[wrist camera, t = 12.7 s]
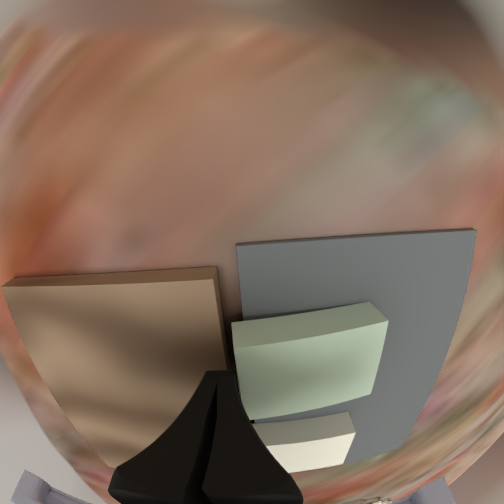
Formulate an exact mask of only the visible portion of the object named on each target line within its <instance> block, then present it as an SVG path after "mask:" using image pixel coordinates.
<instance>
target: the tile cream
mask: <svg viewBox="0 0 504 504" xmlns="http://www.w3.org/2000/svg"><path fill="white" fill-rule="evenodd" d="M252 425H253V427H254V429H255V430H256V432H257V434H258V435H259V437H260V439H261V440H262V442H263V443H264V444H265V446H266V447H267V448H268V450H269V451H270V453H271V454H272V455H273V456H274V458H275V459H276V460H277V461H278V462H279V463H280V465H281V466H282V467H283V468H284V469H285V470H286V471H287V472H288V473H291V472H299V471H306V470H313V469H319V468H324V467H330V466H335V465H339V464H343V462H344V460H345V457H346V455H347V453H348V450H349V448H350V446H351V443H352V441H353V438H354V436H355V433H356V432H355V429H354V426H353V423H352V421H351V418H350V415H349V412H343V413H338V414H333V415H327V416H321V417H315V418H308V419H301V420H292V421H283V422H272V423H258V424H252Z"/></svg>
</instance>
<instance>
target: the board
mask: <svg viewBox="0 0 504 504" xmlns="http://www.w3.org/2000/svg"><path fill="white" fill-rule="evenodd" d="M1 288H2V291H3V294H4V297H5V300H6V302H7V305H8V308H9V310H10V313H11V316H12V318H13V320H14V323H15V325H16V328H17V330H18V332H19V334H20V337H21V339H22V341H23V343H24V345H25V347H26V349H27V351H28V353H29V355H30V357H31V359H32V361H33V363H34V365H35V366H36V368H37V370H38V372H39V374H40V375H41V377H42V379H43V381H44V382H45V384H46V386H47V387H48V389H49V390H50V392H51V394H52V395H53V397H54V398H55V400H56V401H57V403H58V404H59V406H60V407H61V409H62V410H63V412H64V413H65V414H66V416H67V417H68V419H69V420H70V421H71V423H72V424H73V425H74V427H75V428H76V429H77V431H78V432H79V433H80V434H81V436H82V437H83V438H84V439H85V441H86V442H87V443H88V444H89V445H90V447H91V448H92V449H93V450H94V451H95V452H96V454H97V455H98V456H99V457H100V458H101V459H102V460H103V461H104V462H105V463H106V464H107V466H109V467H112V468H116V467H117V466H119V465H121V464H123V463H124V462H126V461H128V460H129V459H131V458H133V457H134V456H136V455H137V454H139V453H140V452H141V451H142V450H144V449H145V448H146V447H148V446H149V445H150V444H152V443H153V442H154V441H155V440H156V439H157V438H158V437H159V436H160V435H161V434H162V433H163V432H164V431H165V430H166V429H167V428H168V427H169V426H170V425H171V424H172V423H173V422H174V420H175V419H176V418H177V417H178V415H179V414H180V413H181V411H182V410H183V409H184V407H185V406H186V405H187V403H188V402H189V400H190V399H191V397H192V395H193V394H194V392H195V391H196V389H197V387H198V385H199V384H200V382H201V380H202V378H203V376H204V374H205V372H206V371H217V370H231V365H230V359H229V352H228V346H227V339H226V333H225V326H224V319H223V312H222V304H221V297H220V289H219V281H218V273H217V266H212V267H198V268H183V269H167V270H151V271H135V272H118V273H100V274H82V275H62V276H41V277H19V278H13V279H12V280H10V281H9V282H7V283H6V284H4V285H3V286H1Z"/></svg>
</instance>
